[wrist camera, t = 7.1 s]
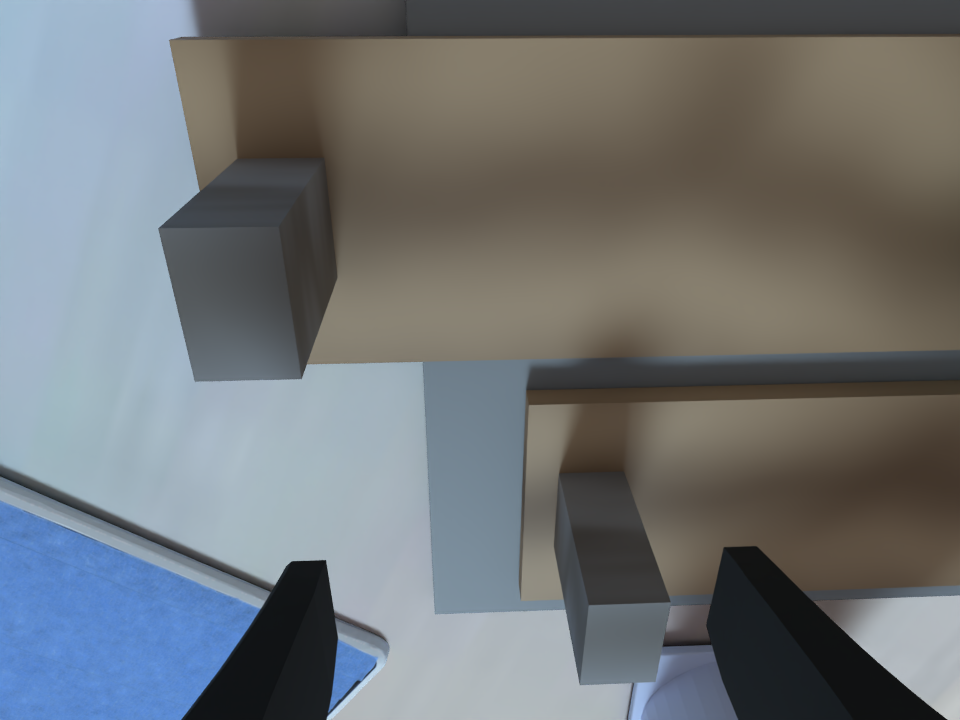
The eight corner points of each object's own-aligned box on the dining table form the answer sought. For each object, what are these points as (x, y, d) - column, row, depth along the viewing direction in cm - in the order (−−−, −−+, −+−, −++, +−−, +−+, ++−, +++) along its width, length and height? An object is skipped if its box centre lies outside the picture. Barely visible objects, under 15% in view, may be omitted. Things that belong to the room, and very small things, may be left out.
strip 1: (1201, 331, 20) (1451, 449, 15) (242, 351, 19) (170, 485, 14) (1373, 32, 16) (1787, 58, 11) (181, 36, 15) (51, 67, 10)
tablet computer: (400, 632, 27) (398, 661, 26) (252, 785, 32) (245, 815, 31) (-128, 398, 21) (-161, 423, 20) (-216, 630, 26) (-247, 661, 25)
